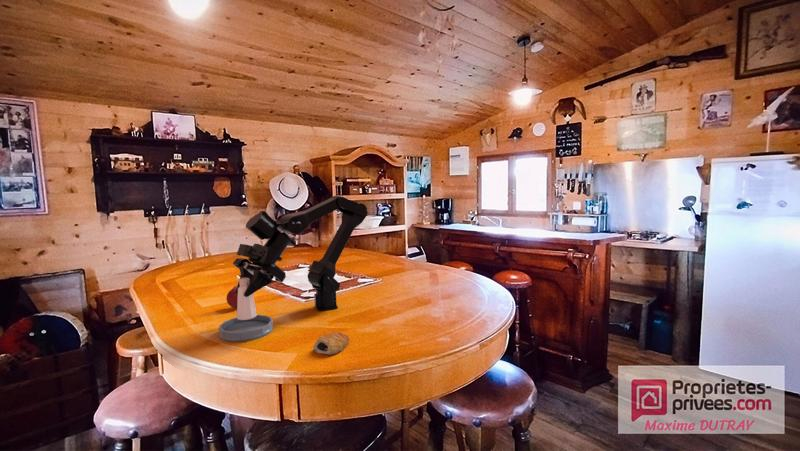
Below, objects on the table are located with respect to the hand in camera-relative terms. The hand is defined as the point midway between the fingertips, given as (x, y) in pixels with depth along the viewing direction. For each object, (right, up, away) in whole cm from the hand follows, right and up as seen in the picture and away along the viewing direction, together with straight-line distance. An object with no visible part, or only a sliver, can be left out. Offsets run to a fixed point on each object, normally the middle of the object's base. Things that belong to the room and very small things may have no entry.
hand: (240, 295), depth 103 cm
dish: (+1, -11, +2) cm, 11 cm away
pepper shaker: (+1, -7, +2) cm, 7 cm away
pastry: (+27, -12, -10) cm, 31 cm away
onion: (-11, -9, +23) cm, 27 cm away
